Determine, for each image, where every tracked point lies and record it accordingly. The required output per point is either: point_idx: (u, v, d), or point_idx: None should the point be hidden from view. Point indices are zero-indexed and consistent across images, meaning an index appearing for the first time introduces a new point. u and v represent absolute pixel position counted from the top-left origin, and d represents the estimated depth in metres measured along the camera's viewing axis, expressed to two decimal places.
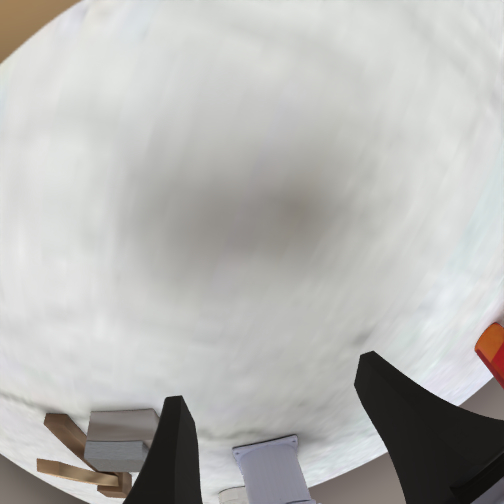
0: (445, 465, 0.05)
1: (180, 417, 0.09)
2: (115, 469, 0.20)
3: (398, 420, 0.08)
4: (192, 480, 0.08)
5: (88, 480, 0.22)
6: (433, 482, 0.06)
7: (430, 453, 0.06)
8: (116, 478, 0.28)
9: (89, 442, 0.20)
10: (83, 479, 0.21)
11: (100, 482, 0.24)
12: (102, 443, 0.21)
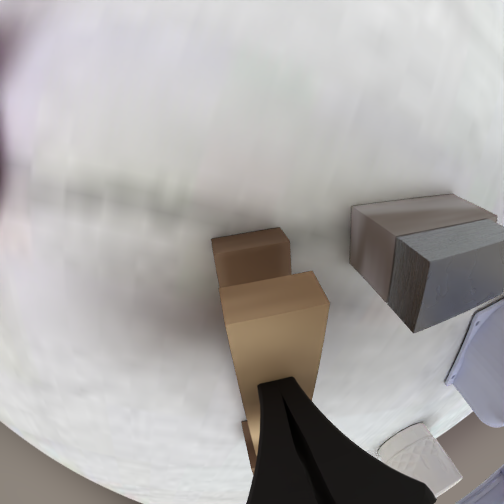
0: None
1: (282, 399, 0.09)
2: (458, 302, 0.10)
3: (305, 454, 0.08)
4: None
5: None
6: None
7: (325, 499, 0.06)
8: None
9: (406, 236, 0.10)
10: None
11: None
12: (435, 232, 0.10)
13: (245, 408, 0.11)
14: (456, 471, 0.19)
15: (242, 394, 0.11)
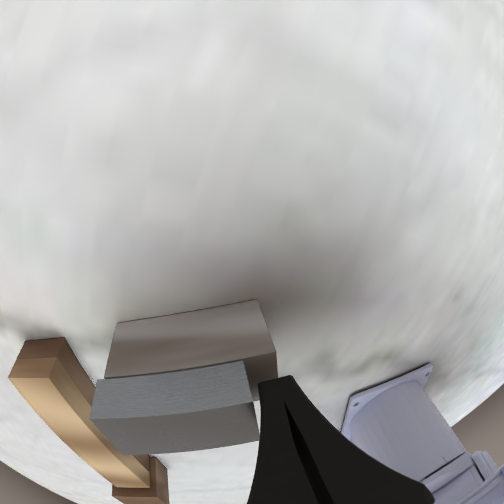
0: None
1: (283, 399, 0.09)
2: (165, 445, 0.10)
3: (303, 455, 0.08)
4: None
5: (101, 439, 0.13)
6: None
7: (324, 500, 0.06)
8: (147, 474, 0.18)
9: (104, 381, 0.10)
10: (92, 430, 0.13)
11: (121, 460, 0.15)
12: (138, 380, 0.10)
13: (60, 438, 0.13)
14: None
15: (49, 426, 0.12)
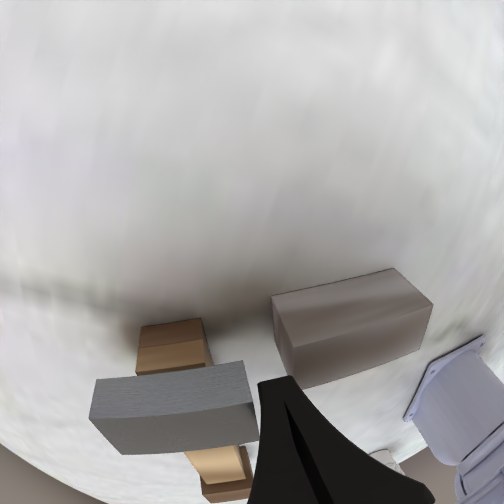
0: None
1: (283, 399, 0.09)
2: (164, 445, 0.10)
3: (303, 454, 0.08)
4: None
5: None
6: None
7: (324, 499, 0.06)
8: (242, 464, 0.19)
9: (104, 380, 0.10)
10: None
11: (235, 450, 0.16)
12: (137, 379, 0.10)
13: None
14: None
15: None
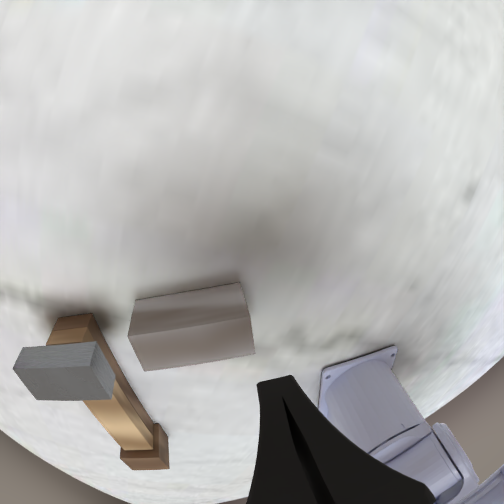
0: None
1: (282, 399, 0.09)
2: (55, 393, 0.14)
3: (304, 454, 0.08)
4: None
5: (116, 398, 0.18)
6: None
7: (325, 499, 0.06)
8: (151, 437, 0.23)
9: (26, 348, 0.14)
10: None
11: (131, 419, 0.20)
12: (42, 348, 0.14)
13: None
14: None
15: None
